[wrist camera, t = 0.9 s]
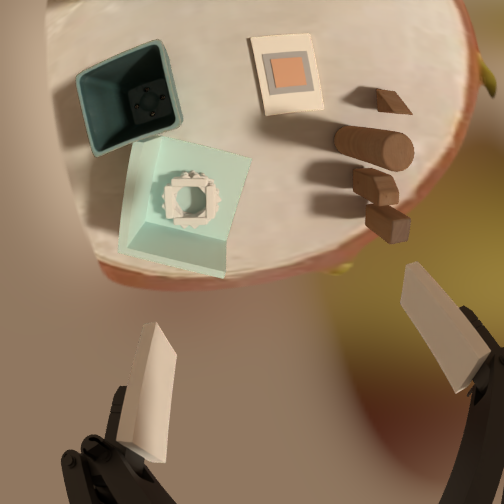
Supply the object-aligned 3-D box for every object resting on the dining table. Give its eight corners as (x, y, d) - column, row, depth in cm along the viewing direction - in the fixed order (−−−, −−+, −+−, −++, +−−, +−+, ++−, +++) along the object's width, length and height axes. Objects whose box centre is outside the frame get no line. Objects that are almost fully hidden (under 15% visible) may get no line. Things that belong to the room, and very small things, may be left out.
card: (250, 38, 24) (250, 37, 23) (309, 34, 24) (310, 33, 23) (265, 116, 28) (266, 116, 28) (323, 109, 28) (324, 109, 28)
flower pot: (179, 56, 24) (160, 36, 16) (195, 124, 28) (182, 127, 20) (110, 82, 24) (73, 75, 16) (126, 146, 28) (93, 159, 21)
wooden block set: (386, 217, 36) (431, 248, 27) (334, 224, 35) (373, 261, 26) (387, 91, 28) (441, 91, 19) (329, 86, 27) (377, 77, 18)
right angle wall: (224, 246, 36) (223, 278, 29) (137, 225, 33) (117, 252, 27) (252, 158, 31) (258, 170, 24) (154, 134, 28) (133, 140, 22)
